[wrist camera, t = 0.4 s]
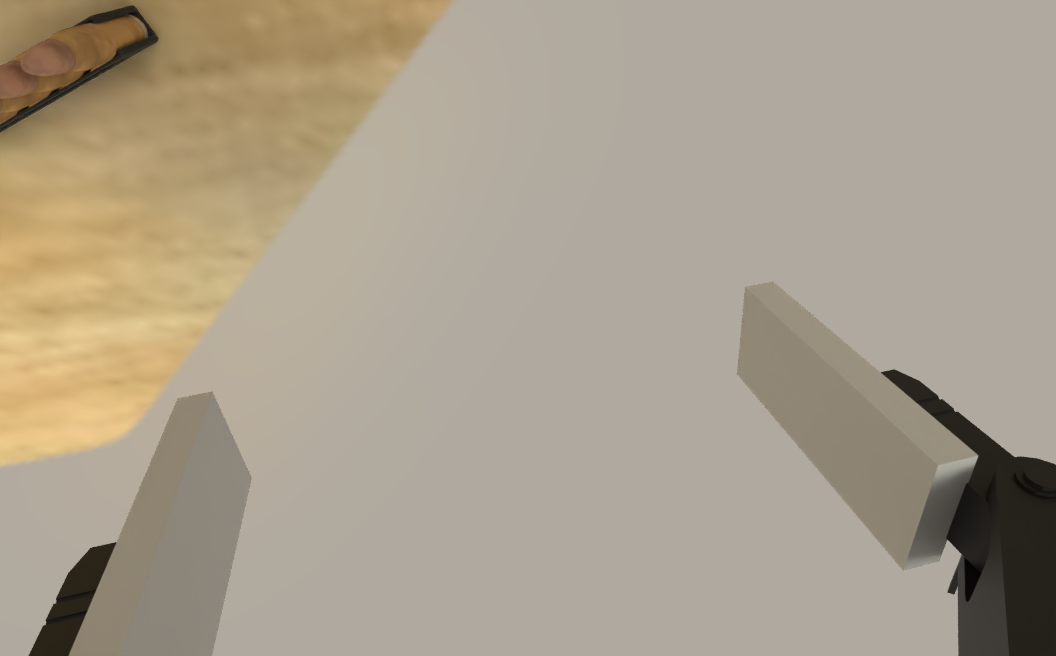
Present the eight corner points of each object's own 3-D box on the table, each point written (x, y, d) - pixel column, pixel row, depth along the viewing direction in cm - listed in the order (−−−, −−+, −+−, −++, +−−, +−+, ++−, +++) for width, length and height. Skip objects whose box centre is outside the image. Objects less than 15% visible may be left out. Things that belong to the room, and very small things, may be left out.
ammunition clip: (133, 4, 32) (24, 28, 22) (160, 39, 33) (67, 78, 23) (-42, 106, 33) (-225, 175, 23) (-11, 138, 34) (-173, 218, 24)
